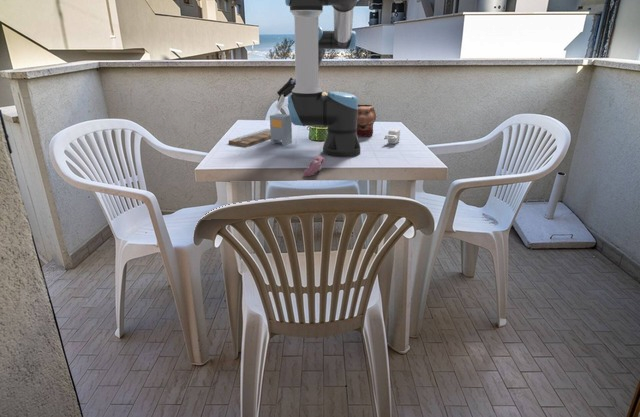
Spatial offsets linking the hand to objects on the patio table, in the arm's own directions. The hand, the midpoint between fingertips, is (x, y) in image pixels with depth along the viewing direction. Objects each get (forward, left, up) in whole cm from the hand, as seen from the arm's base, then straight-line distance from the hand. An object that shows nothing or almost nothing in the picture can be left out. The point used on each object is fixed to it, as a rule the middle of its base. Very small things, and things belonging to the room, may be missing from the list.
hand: (290, 109), depth 182 cm
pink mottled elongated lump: (-52, -1, -13) cm, 53 cm away
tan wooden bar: (+1, +16, -12) cm, 20 cm away
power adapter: (-17, -42, -13) cm, 47 cm away
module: (-7, +5, -13) cm, 16 cm away
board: (+1, +16, -13) cm, 21 cm away
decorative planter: (+4, -35, -13) cm, 37 cm away
